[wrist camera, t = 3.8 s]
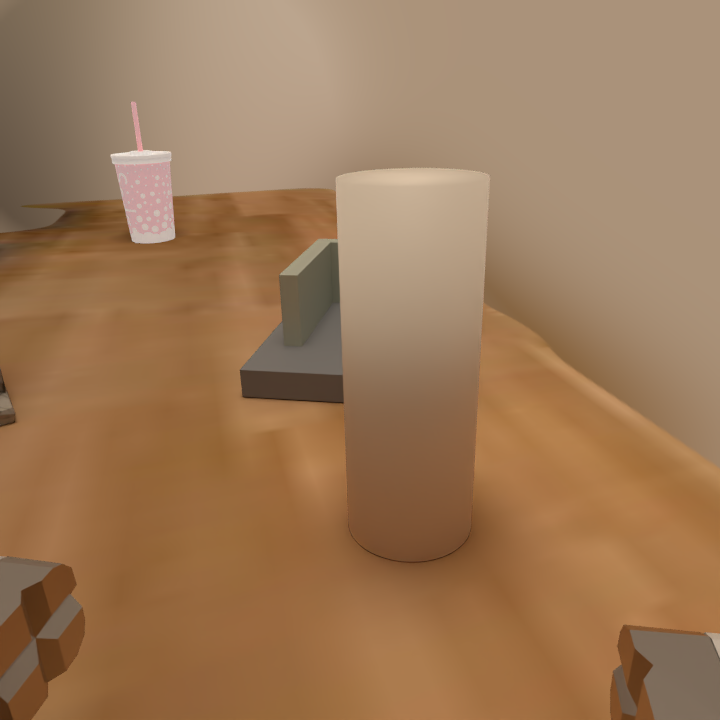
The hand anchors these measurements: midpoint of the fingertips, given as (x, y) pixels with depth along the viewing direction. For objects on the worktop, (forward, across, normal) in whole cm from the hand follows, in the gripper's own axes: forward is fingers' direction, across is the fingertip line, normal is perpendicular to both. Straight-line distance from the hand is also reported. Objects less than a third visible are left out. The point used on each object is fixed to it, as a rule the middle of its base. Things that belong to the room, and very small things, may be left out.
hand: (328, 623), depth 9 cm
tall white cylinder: (+12, 0, +7) cm, 14 cm away
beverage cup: (+58, +33, +7) cm, 67 cm away
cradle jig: (+28, +4, +7) cm, 29 cm away
